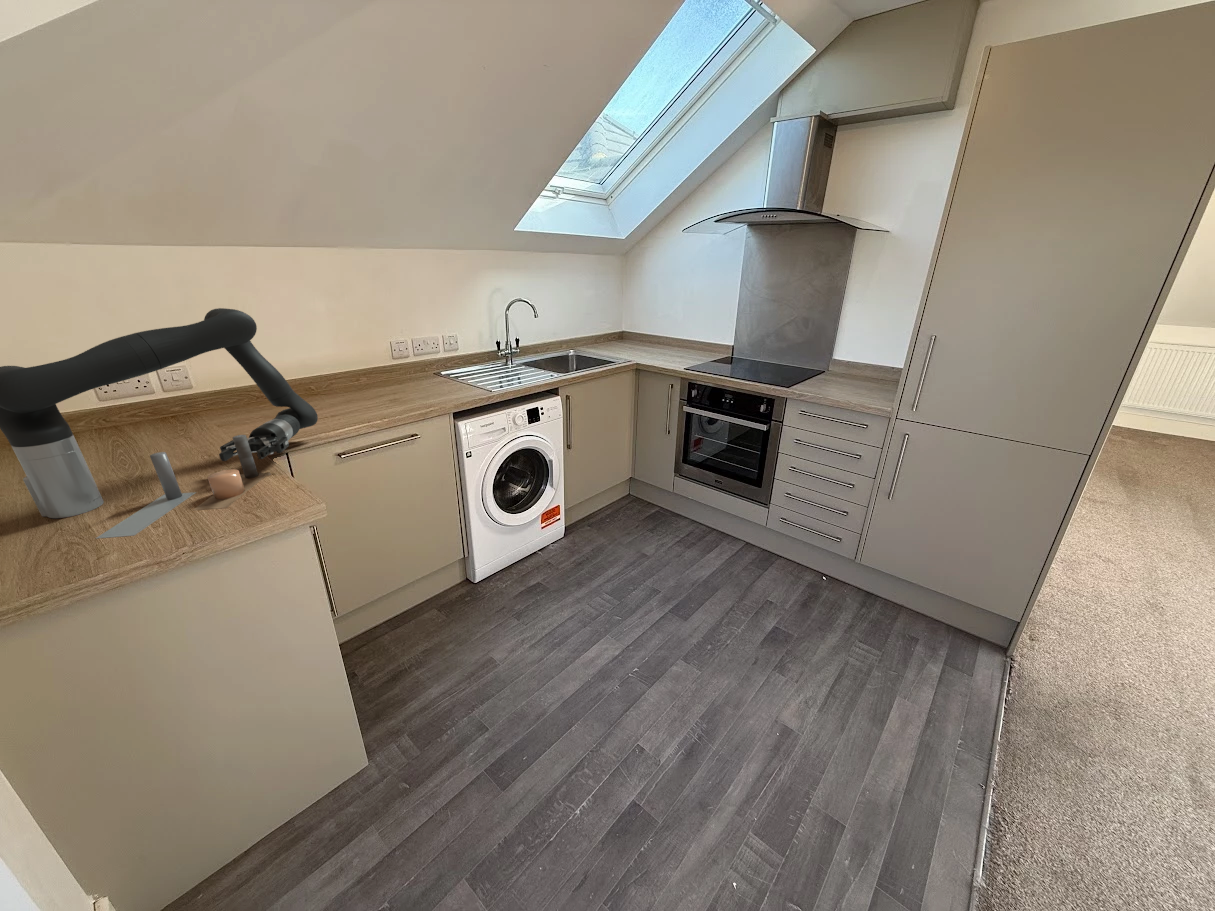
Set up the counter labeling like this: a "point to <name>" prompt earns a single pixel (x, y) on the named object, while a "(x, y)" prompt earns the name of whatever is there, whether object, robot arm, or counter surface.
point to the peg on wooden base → (248, 477)
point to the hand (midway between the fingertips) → (240, 456)
